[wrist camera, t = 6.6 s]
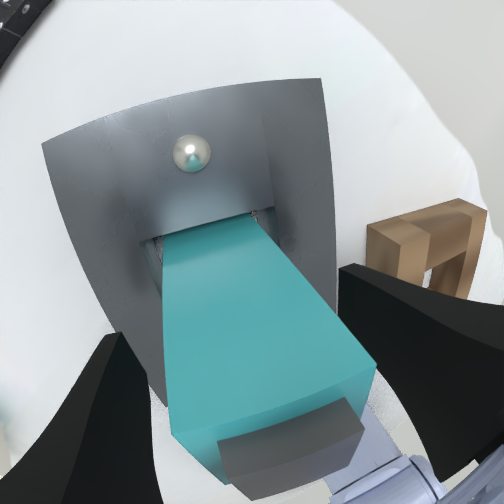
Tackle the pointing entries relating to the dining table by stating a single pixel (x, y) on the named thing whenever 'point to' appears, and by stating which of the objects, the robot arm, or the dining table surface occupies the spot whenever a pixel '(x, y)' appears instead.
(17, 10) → the disk drive
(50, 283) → the dining table surface
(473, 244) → the tan square ring
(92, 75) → the dining table surface
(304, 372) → the plug
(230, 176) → the port block
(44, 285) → the dining table surface
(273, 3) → the dining table surface
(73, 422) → the robot arm
